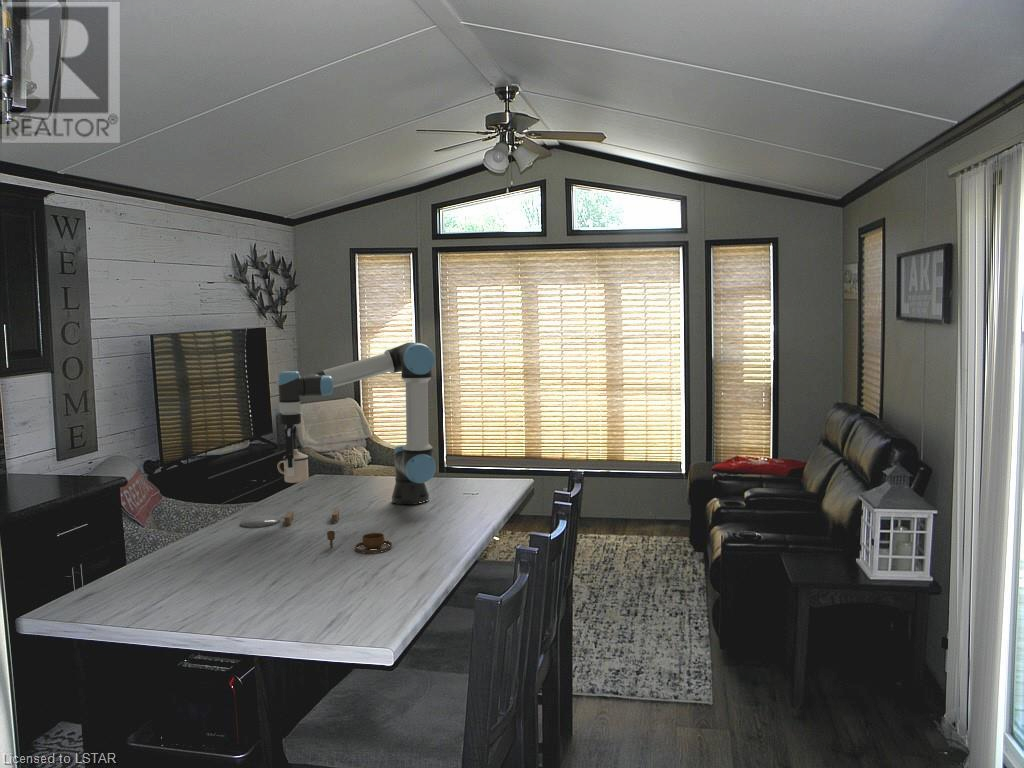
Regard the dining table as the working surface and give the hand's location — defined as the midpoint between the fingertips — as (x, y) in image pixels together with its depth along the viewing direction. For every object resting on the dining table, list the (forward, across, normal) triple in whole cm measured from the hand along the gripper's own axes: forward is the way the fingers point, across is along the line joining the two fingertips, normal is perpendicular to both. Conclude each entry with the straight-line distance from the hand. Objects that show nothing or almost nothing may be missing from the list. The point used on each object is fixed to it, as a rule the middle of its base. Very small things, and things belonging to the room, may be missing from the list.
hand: (292, 473), depth 309 cm
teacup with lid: (+3, -1, 0) cm, 3 cm away
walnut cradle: (+18, 0, +7) cm, 19 cm away
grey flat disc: (+18, -2, -12) cm, 22 cm away
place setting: (+19, +41, +27) cm, 52 cm away
